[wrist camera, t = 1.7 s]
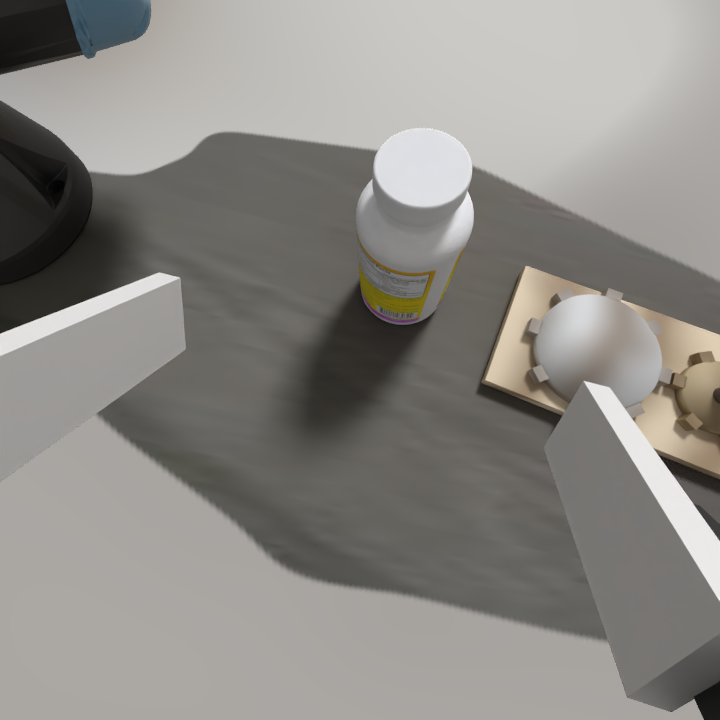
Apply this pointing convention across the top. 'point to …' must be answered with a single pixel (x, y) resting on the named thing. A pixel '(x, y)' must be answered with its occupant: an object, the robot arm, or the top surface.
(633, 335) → the gear board
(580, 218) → the top surface
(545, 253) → the top surface
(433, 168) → the supplement bottle
